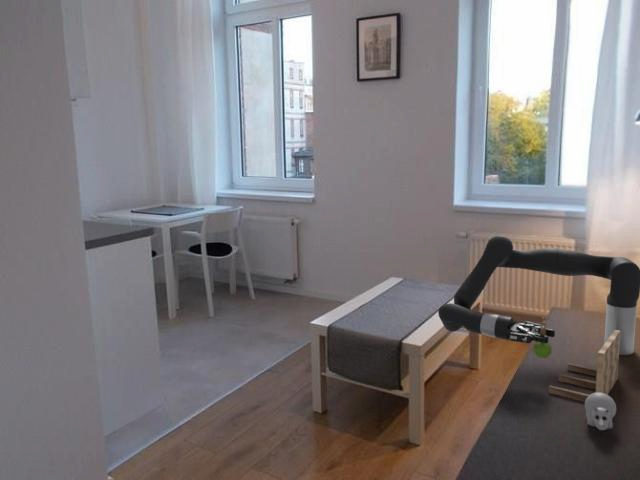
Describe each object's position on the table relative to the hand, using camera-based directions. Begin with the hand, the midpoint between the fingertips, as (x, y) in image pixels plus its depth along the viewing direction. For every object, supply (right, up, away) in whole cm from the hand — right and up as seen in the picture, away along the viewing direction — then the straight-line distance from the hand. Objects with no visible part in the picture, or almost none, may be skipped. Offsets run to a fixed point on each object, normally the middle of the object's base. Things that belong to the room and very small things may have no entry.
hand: (551, 336), depth 169 cm
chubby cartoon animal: (+3, -21, -23) cm, 31 cm away
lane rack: (+10, -15, +2) cm, 18 cm away
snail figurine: (-2, -7, +3) cm, 8 cm away
